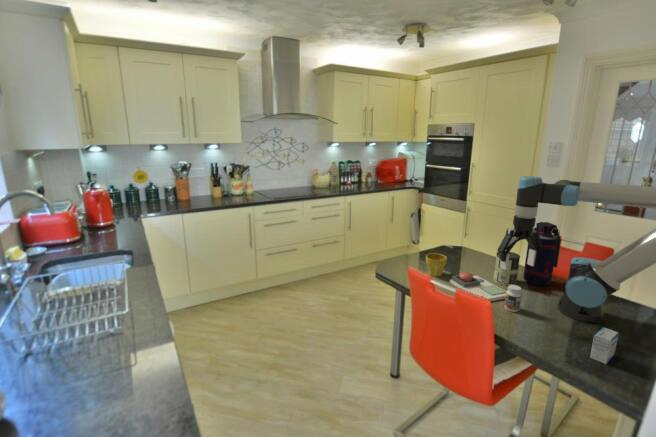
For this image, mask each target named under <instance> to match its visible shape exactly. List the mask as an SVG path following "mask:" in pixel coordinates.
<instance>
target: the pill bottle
mask: <svg viewBox="0 0 656 437" xmlns="http://www.w3.org/2000/svg"><path fill="white" fill-rule="evenodd" d="M507 286H508V288H507V290H506V297H505V299H504V306H503V307H504V309H505V310H507V311H509V312H515V313H517V312H518V311H520V310H521V309H520V307H521V301H522V293H521V291H522V287H521V286H519V285H516V284H515V285H507Z"/></svg>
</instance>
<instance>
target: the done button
mask: <svg viewBox="0 0 656 437" xmlns="http://www.w3.org/2000/svg"><path fill="white" fill-rule="evenodd" d="M459 275H460V276H459V279H460V280H462V281H463V282H471V281H473V276H474V274H472V273H470V272H465V271H464V272H463V271H462V272H459Z"/></svg>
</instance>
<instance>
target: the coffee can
mask: <svg viewBox="0 0 656 437" xmlns="http://www.w3.org/2000/svg"><path fill="white" fill-rule="evenodd" d="M508 254H509V261H508V268H507V270H505V269H502V268H501V252H498V251H496V258H495V265H494V266H495V267H494V274H493V281H494V282H495V283H497V284H501V285H502V286H503V285H504V286H509V285H516V284H517V279H518V271H519V266H520V258H521V255H520V254H518V253H516V252H513V251H509V253H508Z"/></svg>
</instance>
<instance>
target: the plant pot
mask: <svg viewBox="0 0 656 437" xmlns="http://www.w3.org/2000/svg"><path fill="white" fill-rule="evenodd" d="M447 260H448V258H447V256H446V255H444V254H441V253H428V254H426V255H425V263H426V266H427V271H428V275H429V276H432V277H435V278H436V277H442V276H443V272H444V269H445V266H446V265H447V262H448V261H447Z"/></svg>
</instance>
